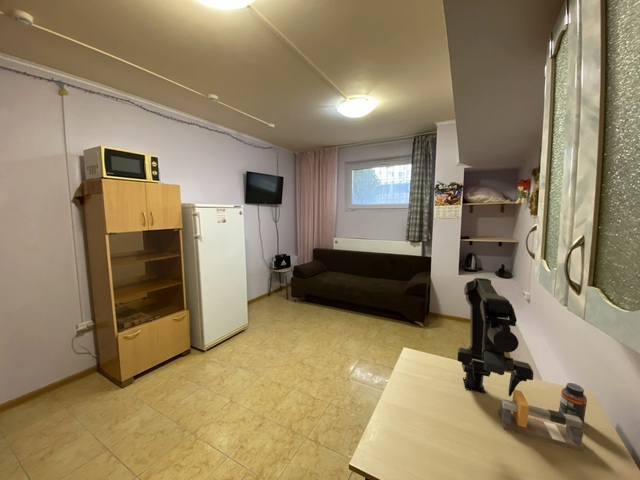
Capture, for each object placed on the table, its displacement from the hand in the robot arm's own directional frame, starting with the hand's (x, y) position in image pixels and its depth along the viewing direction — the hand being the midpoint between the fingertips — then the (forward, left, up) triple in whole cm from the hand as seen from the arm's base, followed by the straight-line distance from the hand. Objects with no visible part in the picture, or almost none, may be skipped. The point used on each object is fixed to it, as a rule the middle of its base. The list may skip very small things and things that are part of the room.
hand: (490, 390), depth 79 cm
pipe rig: (-5, +14, -13) cm, 20 cm away
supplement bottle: (-15, +26, -13) cm, 33 cm away
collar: (-5, +9, -10) cm, 15 cm away
